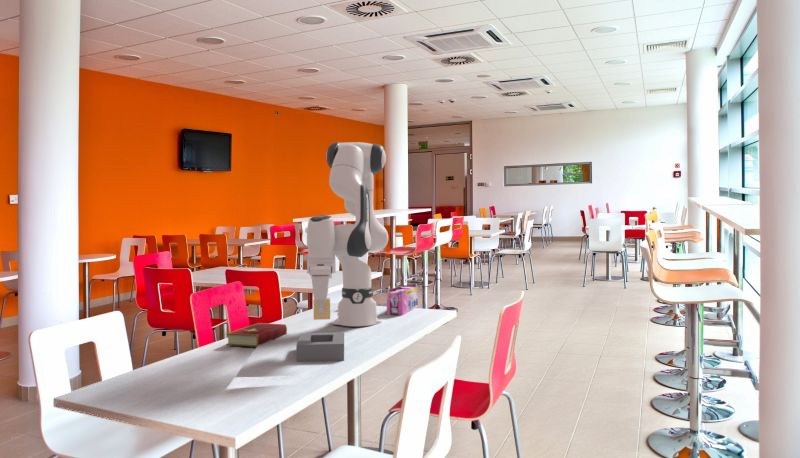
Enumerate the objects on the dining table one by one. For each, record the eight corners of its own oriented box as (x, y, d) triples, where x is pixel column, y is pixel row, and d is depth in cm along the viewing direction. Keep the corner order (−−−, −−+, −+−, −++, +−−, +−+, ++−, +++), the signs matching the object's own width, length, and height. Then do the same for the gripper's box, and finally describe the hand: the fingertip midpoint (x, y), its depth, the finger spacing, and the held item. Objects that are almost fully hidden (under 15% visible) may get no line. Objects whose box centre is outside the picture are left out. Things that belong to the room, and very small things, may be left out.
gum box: (401, 322, 240) (401, 291, 240) (385, 321, 243) (384, 290, 243) (418, 313, 261) (418, 285, 261) (403, 313, 264) (403, 284, 264)
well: (301, 348, 191) (301, 333, 191) (344, 347, 192) (344, 332, 192) (296, 361, 173) (296, 344, 173) (344, 360, 174) (343, 343, 174)
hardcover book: (287, 334, 216) (286, 323, 216) (257, 346, 196) (257, 334, 196) (258, 333, 220) (258, 322, 220) (226, 345, 200) (226, 332, 200)
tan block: (314, 317, 184) (314, 298, 184) (330, 317, 185) (330, 298, 185) (313, 319, 180) (313, 300, 180) (330, 319, 181) (329, 299, 181)
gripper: (312, 265, 192) (313, 307, 192) (309, 270, 172) (309, 317, 172) (332, 265, 193) (332, 306, 193) (330, 269, 172) (331, 316, 173)
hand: (321, 311), depth 182 cm, fingers closed on tan block, 4 cm apart
